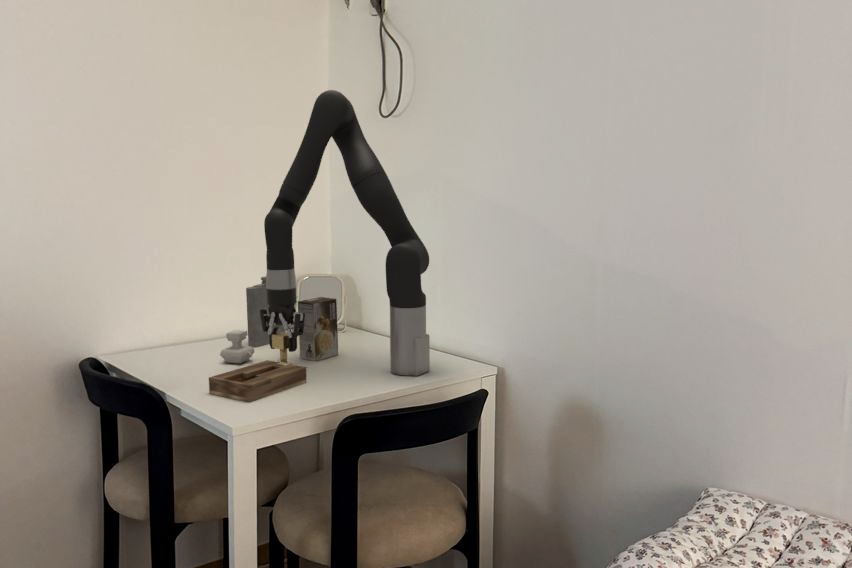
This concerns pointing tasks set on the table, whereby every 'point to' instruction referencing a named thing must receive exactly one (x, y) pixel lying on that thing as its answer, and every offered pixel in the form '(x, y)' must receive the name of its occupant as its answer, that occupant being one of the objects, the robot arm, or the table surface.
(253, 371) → the keyhole plate
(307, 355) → the coffee box
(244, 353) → the stamp
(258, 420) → the table surface
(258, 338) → the hip flask
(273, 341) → the brass keyhole peg
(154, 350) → the table surface
